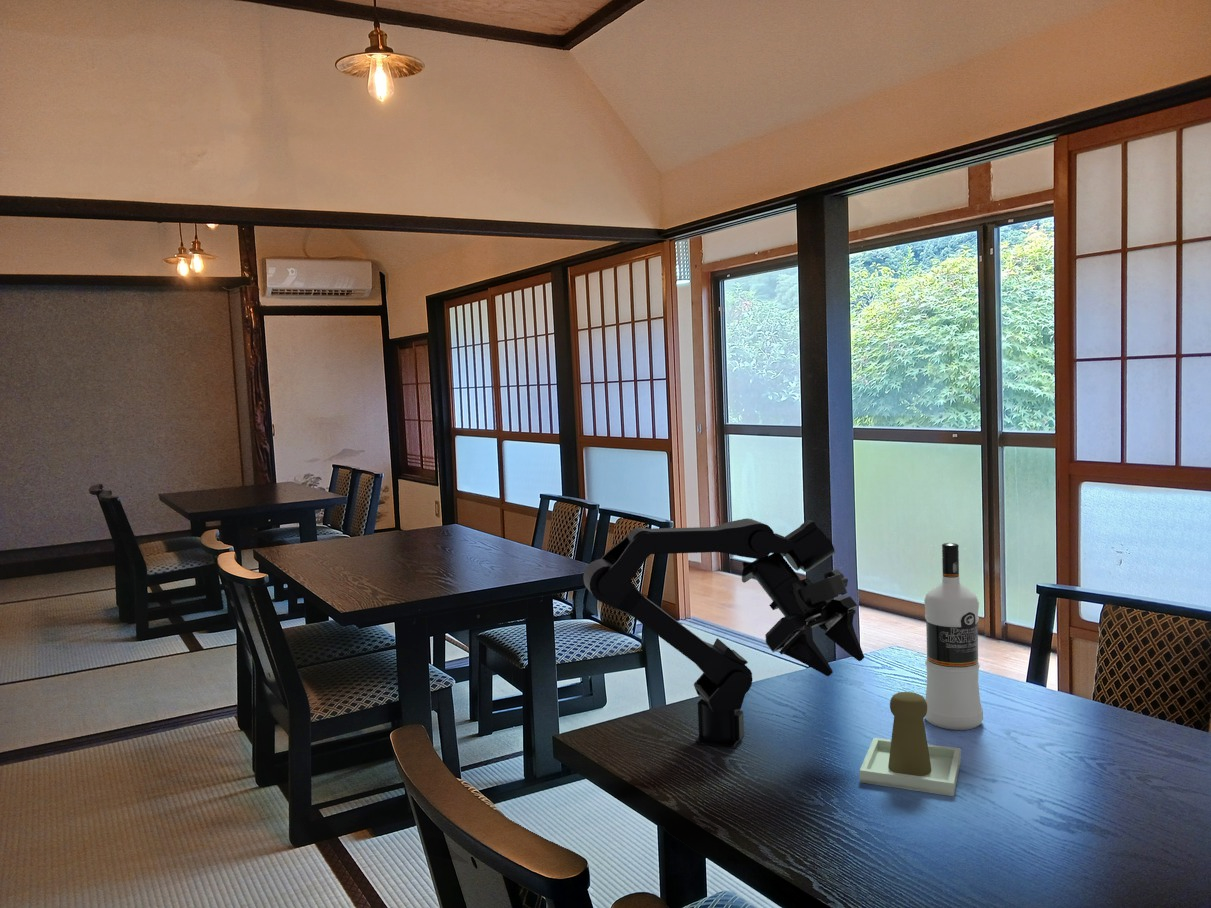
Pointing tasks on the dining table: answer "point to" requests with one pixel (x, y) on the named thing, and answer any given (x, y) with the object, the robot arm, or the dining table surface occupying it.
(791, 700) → the dining table surface
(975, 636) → the vodka
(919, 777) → the tray
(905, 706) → the cork
